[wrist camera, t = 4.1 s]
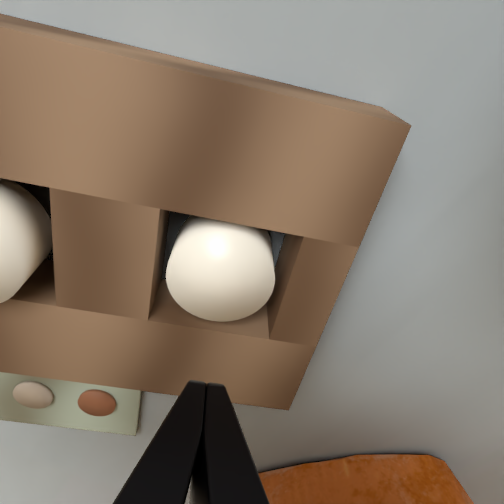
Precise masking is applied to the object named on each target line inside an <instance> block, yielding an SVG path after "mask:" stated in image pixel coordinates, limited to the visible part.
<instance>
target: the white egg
mask: <svg viewBox="0 0 504 504" xmlns="http://www.w3.org/2000/svg"><path fill="white" fill-rule="evenodd" d="M166 283H167V286H168V289H169V292H170V294H171V295H172V297H173V299H174V300H175V301H176V302H177V303H178V304H179V305H180V306H181V307H182V308H183V309H184V310H186V311H187V312H189V313H191V314H192V315H195V316H197V317H199V318H202V319H206V320H210V321H218V322H226V321H234V320H239V319H242V318H245V317H247V316H250V315H252V314H253V313H255V312H256V311H258V310H259V309H260V308H262V307H263V306H264V305H265V303H266V302H267V301H268V300H269V298H270V296H271V294H272V292H273V289H274V285H275V272H274V263H273V254H272V245H271V239H270V236H269V233H268V231H267V229H261V228H256V227H251V226H246V225H241V224H236V223H230V222H225V221H220V220H215V219H210V218H205V217H199V216H194V215H191V216H190V217H189V218H188V219H186V220H185V222H184V223H183V224H182V226H181V227H180V229H179V231H178V234H177V237H176V240H175V243H174V246H173V249H172V252H171V255H170V258H169V261H168V265H167V269H166Z"/></svg>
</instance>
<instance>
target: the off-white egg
mask: <svg viewBox="0 0 504 504" xmlns="http://www.w3.org/2000/svg"><path fill="white" fill-rule="evenodd" d="M52 246H53V242H52V224H51V221H50V218H49V216H48V214H47V212H46V211H45V209H44V208H43V206H42V205H41V204H40V202H39V201H38V200H37V199H36V198H35V197H34V196H33V195H32V194H31V193H30V192H28V191H27V190H26V189H24V188H23V187H22V186H20V185H19V184H17V183H15V182H14V181H12V180H8V179H3V178H0V303H2V302H4V301H6V300H8V299H10V298H11V297H12V296H14V294H15V293H16V292H17V291H18V290H19V289H20V288H21V286H22V285H23V284H24V283H25V282H26V281H27V279H28V278H29V277H30V276H31V275H32V274H33V272H34V271H35V270H36V269H37V268H38V266H39V265H40V264H41V263H42V262H43V261H44V259H45V258H46V257H47V256H48V254H49V253H50V251H51V248H52Z"/></svg>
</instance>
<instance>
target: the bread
mask: <svg viewBox="0 0 504 504" xmlns="http://www.w3.org/2000/svg"><path fill="white" fill-rule="evenodd" d="M258 474H259V477H260V479H261V482H262V485H263V487H264V490H265V493H266V495H267V498H268V500H269V503H270V504H474V503H473V502H472V500H471V499H470V497H469V496H468V494H467V493H466V492H465V490H464V489H463V487H462V486H461V484H460V483H459V481H458V480H457V479H456V477H455V476H454V474H453V473H452V471H451V470H450V468H449V467H448V466H447V464H446V463H445V461H443V460H440V459H438V458H435V457H433V456H430V455H400V454H389V455H354V456H348V457H343V458H338V459H332V460H327V461H322V462H315V463H306V464H301V465H296V466H291V467H286V468H282V469H277V470H272V471H267V472H263V473H258Z"/></svg>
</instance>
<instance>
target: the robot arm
mask: <svg viewBox="0 0 504 504" xmlns="http://www.w3.org/2000/svg"><path fill="white" fill-rule="evenodd" d="M190 481H191V485H190ZM189 485H190V504H270V503H269V500H268V498H267V495H266V493H265V490H264V487H263V485H262V482H261V479H260V477H259V474H258V471H257V469H256V466H255V463H254V461H253V458H252V456H251V453H250V450H249V448H248V445H247V442H246V440H245V437H244V434H243V432H242V429H241V427H240V424H239V421H238V419H237V416H236V413H235V411H234V408H233V405H232V403H231V400H230V397H229V395H228V392H227V390H226V387H225V386H224V385H223V384H219V383H212V382H209V383H207V385H206V383H205V382H204V381H197V380H189V381H188V382H187V384H186V386H185V387H184V389H183V390H182V392H181V394H180V395H179V397H178V399H177V400H176V402H175V403H174V405H173V407H172V408H171V410H170V412H169V413H168V415H167V416H166V418H165V420H164V421H163V423H162V425H161V426H160V428H159V429H158V431H157V433H156V434H155V436H154V438H153V439H152V441H151V442H150V444H149V446H148V447H147V449H146V451H145V452H144V454H143V455H142V457H141V459H140V460H139V462H138V464H137V465H136V467H135V468H134V470H133V472H132V473H131V475H130V477H129V478H128V480H127V481H126V483H125V485H124V486H123V488H122V489H121V491H120V493H119V494H118V496H117V498H116V499H115V501H114V502H113V504H185V500H186V496H187V493H188V489H189Z"/></svg>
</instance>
